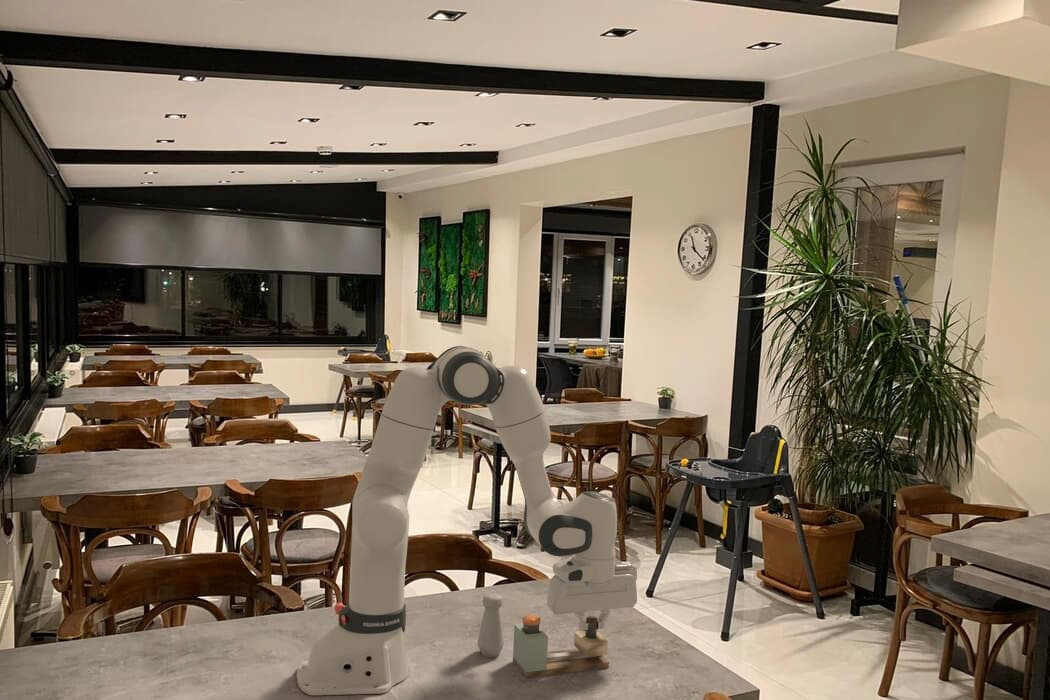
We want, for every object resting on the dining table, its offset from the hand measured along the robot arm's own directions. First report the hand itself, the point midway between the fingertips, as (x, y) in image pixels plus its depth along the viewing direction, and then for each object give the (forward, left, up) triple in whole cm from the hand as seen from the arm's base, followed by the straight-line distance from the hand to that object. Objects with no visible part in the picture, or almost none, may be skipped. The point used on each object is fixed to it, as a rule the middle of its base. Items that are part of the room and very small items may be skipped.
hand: (591, 629), depth 178 cm
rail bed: (-7, 0, -7) cm, 10 cm away
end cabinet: (-14, 0, -6) cm, 15 cm away
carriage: (0, 0, -5) cm, 5 cm away
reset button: (-14, 0, -1) cm, 14 cm away
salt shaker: (-20, +9, -7) cm, 23 cm away
